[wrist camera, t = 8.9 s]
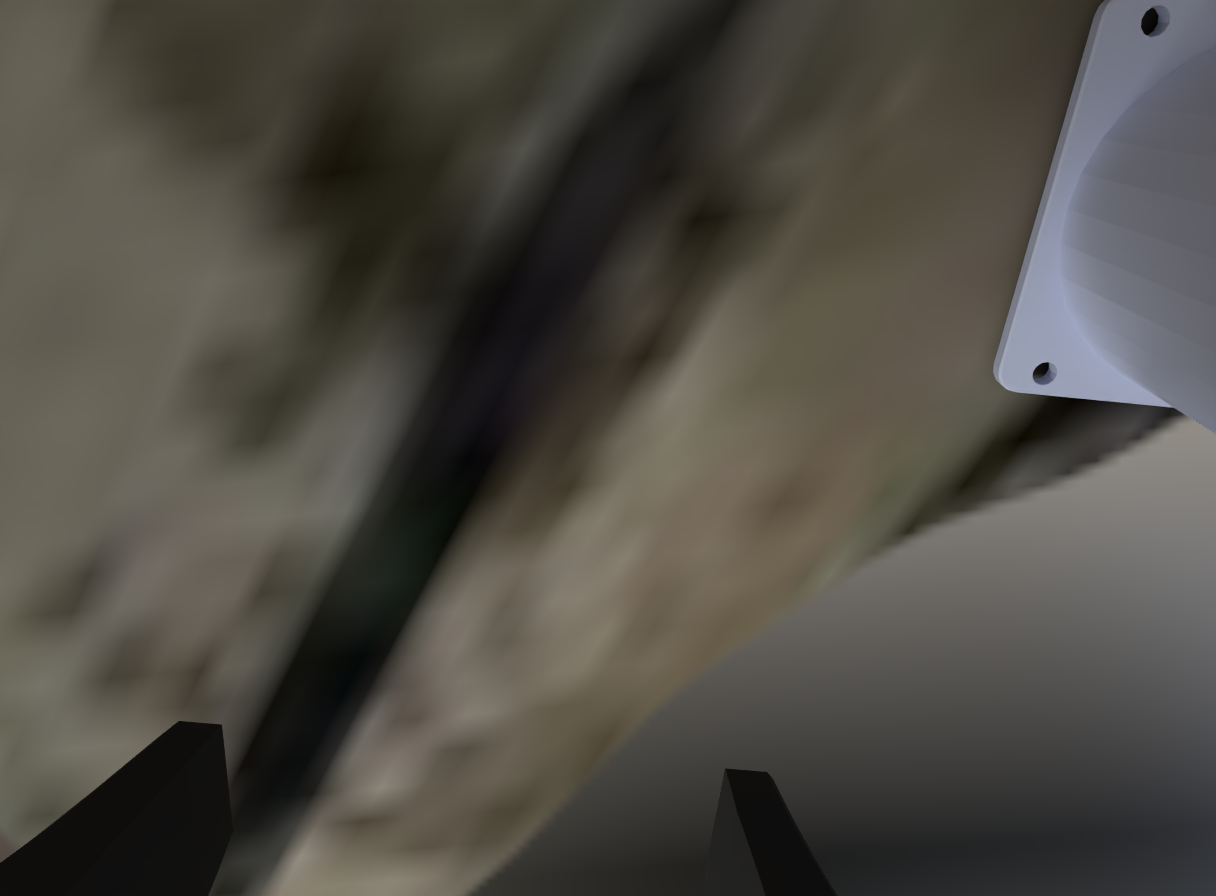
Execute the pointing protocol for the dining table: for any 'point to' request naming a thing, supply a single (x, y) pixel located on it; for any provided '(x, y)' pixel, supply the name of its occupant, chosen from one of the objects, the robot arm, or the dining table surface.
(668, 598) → the dining table surface
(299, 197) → the dining table surface
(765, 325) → the dining table surface
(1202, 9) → the robot arm
